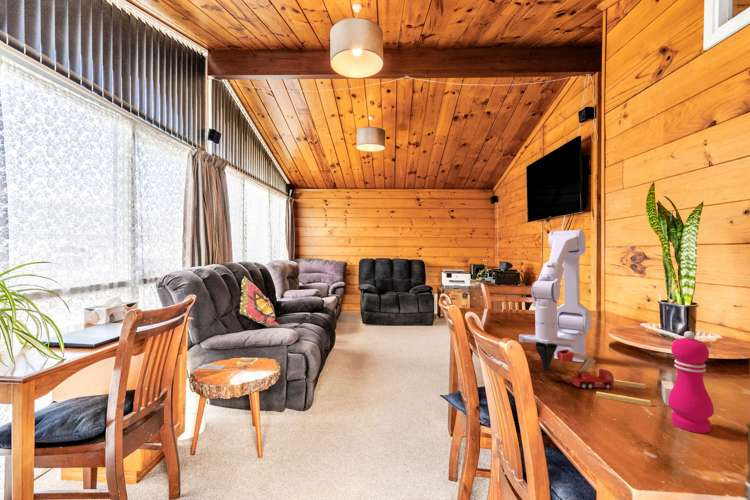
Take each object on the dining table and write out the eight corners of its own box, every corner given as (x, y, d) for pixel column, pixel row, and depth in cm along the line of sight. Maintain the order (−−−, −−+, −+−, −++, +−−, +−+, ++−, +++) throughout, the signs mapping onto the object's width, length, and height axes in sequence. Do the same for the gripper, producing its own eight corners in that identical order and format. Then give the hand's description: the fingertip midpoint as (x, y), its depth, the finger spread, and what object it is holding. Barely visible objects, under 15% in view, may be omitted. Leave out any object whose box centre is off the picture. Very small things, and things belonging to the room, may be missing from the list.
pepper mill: (659, 418, 79) (658, 328, 79) (689, 417, 80) (688, 326, 80) (691, 435, 72) (690, 336, 72) (724, 433, 73) (723, 334, 73)
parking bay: (596, 396, 91) (596, 380, 91) (596, 380, 102) (596, 366, 102) (678, 411, 83) (677, 393, 83) (669, 391, 94) (668, 376, 94)
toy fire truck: (616, 389, 96) (615, 353, 96) (562, 388, 97) (561, 352, 97) (609, 384, 99) (608, 349, 99) (557, 383, 101) (556, 349, 101)
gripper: (516, 322, 104) (517, 369, 104) (574, 327, 96) (574, 378, 96) (521, 318, 110) (521, 362, 110) (575, 322, 102) (576, 370, 102)
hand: (546, 369), depth 103 cm, fingers closed
